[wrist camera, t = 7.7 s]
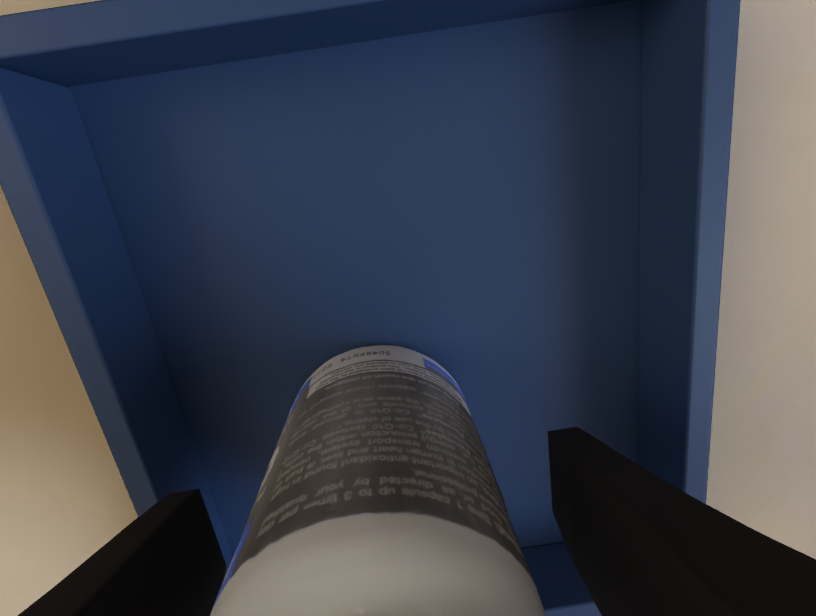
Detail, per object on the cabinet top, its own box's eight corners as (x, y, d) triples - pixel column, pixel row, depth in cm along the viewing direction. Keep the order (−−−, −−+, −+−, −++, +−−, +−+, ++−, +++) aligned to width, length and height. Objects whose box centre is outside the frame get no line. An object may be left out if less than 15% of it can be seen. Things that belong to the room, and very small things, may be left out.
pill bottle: (264, 371, 11) (-74, 914, 3) (441, 317, 11) (617, 727, 3) (327, 515, 12) (222, 1157, 4) (485, 469, 12) (688, 1039, 4)
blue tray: (643, 525, 14) (700, 601, 11) (239, 593, 14) (206, 685, 11) (651, -25, 9) (749, -100, 7) (53, 66, 9) (-68, 24, 7)
